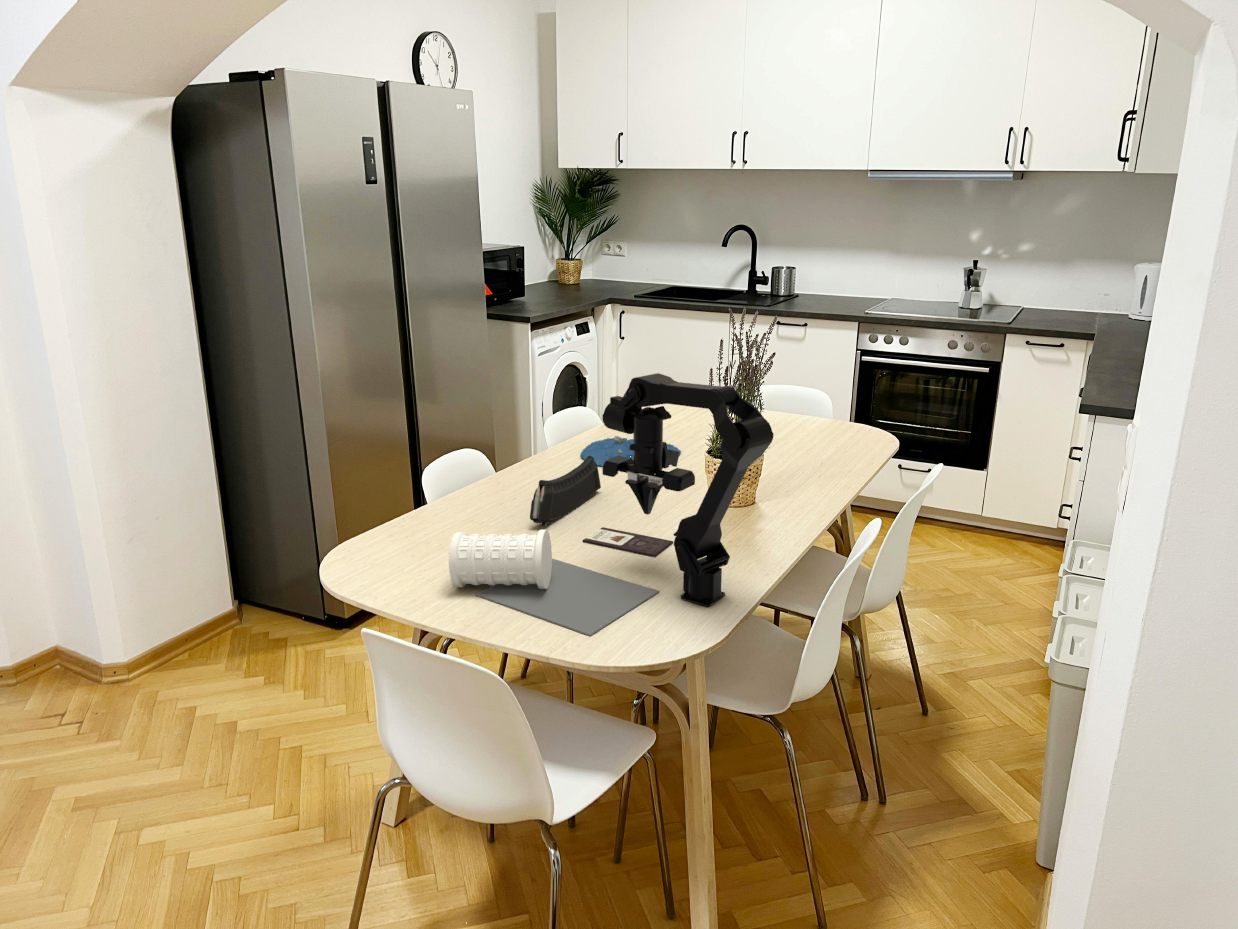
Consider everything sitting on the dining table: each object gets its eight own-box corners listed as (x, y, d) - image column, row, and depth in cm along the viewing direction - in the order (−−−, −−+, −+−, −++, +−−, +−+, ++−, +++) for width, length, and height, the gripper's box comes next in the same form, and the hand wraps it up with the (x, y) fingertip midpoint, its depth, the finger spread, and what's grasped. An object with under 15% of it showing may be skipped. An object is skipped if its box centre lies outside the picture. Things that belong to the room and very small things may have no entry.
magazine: (593, 455, 232) (536, 451, 205) (605, 457, 231) (548, 453, 203) (585, 520, 232) (527, 525, 205) (597, 522, 231) (540, 528, 204)
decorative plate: (702, 466, 259) (703, 448, 257) (613, 481, 244) (613, 463, 242) (648, 438, 283) (649, 422, 281) (564, 450, 268) (564, 434, 266)
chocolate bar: (654, 555, 190) (582, 540, 199) (654, 559, 191) (582, 544, 199) (673, 541, 198) (602, 527, 206) (673, 545, 198) (602, 531, 206)
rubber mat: (659, 592, 174) (659, 590, 174) (590, 636, 157) (590, 635, 157) (549, 559, 190) (549, 557, 190) (476, 595, 173) (475, 594, 173)
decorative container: (550, 523, 179) (462, 524, 181) (539, 537, 168) (446, 538, 170) (553, 579, 181) (466, 579, 183) (542, 596, 170) (450, 597, 172)
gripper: (710, 437, 175) (708, 511, 180) (632, 423, 186) (632, 494, 190) (680, 450, 167) (678, 528, 171) (600, 434, 177) (601, 508, 182)
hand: (647, 513), depth 179 cm, fingers closed
